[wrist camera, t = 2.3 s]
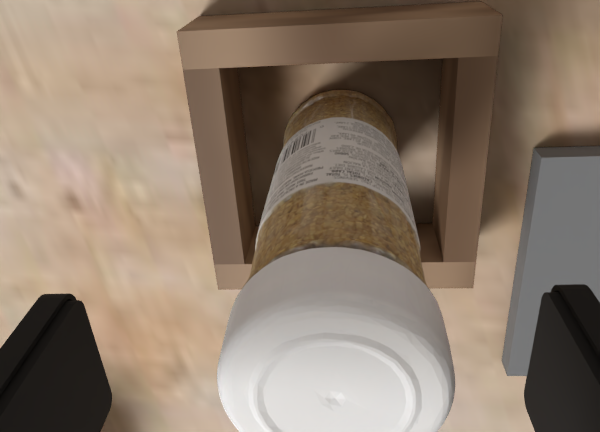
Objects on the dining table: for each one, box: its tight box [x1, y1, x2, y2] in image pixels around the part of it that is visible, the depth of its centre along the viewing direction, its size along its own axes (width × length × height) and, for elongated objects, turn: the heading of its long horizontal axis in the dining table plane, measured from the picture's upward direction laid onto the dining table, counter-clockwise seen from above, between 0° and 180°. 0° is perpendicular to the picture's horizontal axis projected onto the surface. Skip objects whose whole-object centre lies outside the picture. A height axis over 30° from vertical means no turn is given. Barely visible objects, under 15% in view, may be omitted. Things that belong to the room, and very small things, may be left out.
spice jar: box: [217, 90, 455, 432], centre depth 16 cm, size 5×5×14 cm
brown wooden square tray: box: [177, 1, 503, 289], centre depth 21 cm, size 10×10×3 cm
